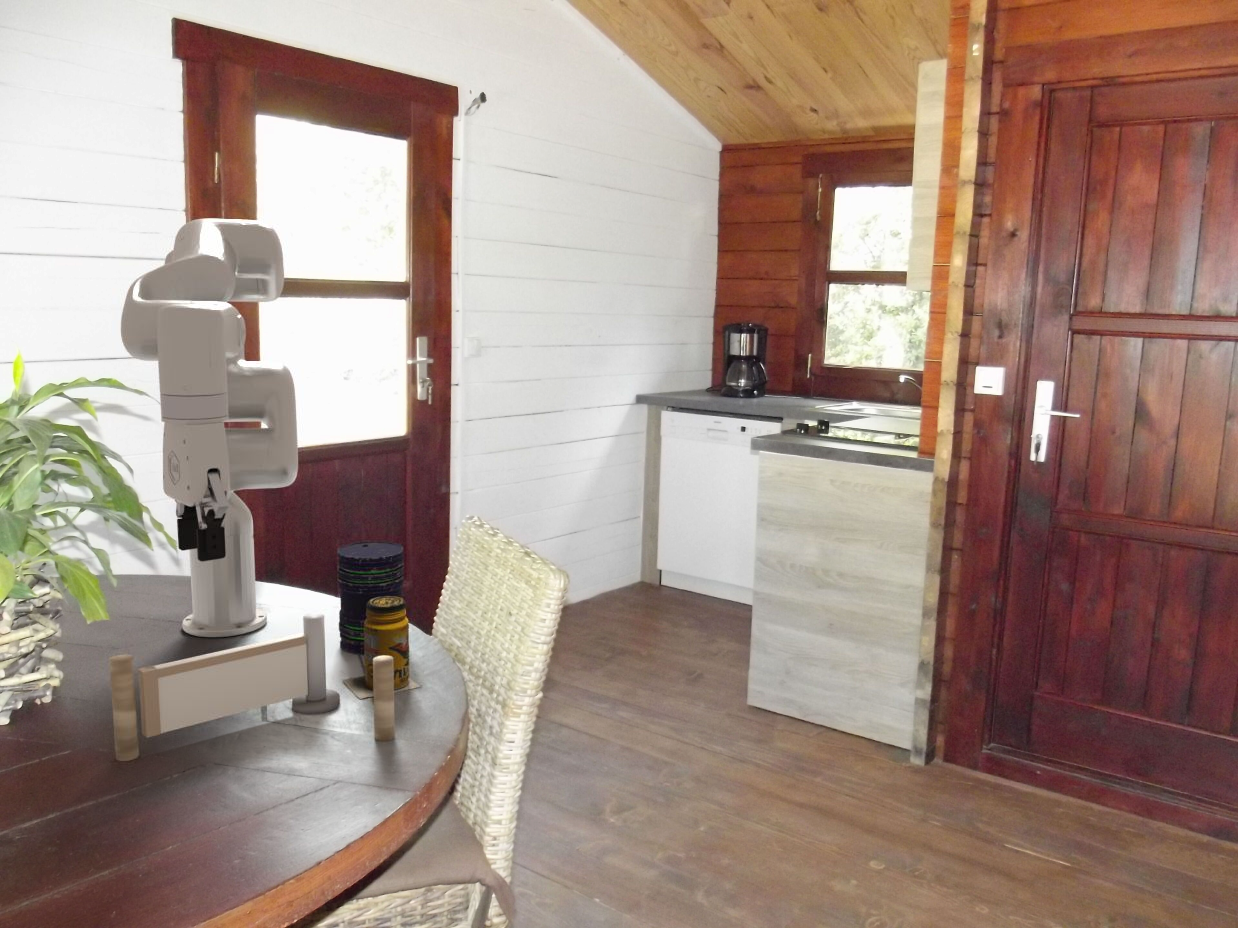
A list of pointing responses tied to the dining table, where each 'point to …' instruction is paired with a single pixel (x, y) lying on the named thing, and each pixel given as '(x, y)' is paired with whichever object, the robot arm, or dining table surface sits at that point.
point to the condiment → (384, 644)
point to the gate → (234, 680)
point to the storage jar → (365, 585)
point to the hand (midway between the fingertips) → (201, 552)
